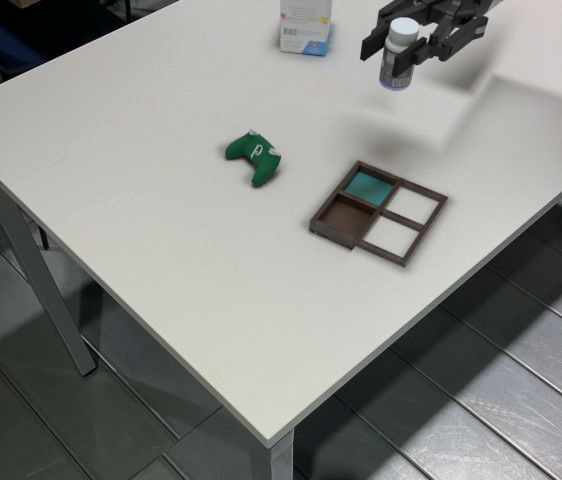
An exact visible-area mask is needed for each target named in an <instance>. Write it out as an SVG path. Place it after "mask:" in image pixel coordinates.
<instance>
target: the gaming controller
mask: <svg viewBox="0 0 562 480" xmlns="http://www.w3.org/2000/svg"><path fill="white" fill-rule="evenodd" d="M224 154H225V156H226V158H227V159H229V160H231V159H236V158H238V157H240V156H243V155H245V156H246V157H247V158H248V159H249V160H250V161H251V162H252V163H253V164H254V165H255V166H256V169H255V171H254V172H253V176H252V177H251V180H250V182H251V183H252V184H253V185H254V186H255V187H257V186H259V185H261V184H262V183H264V182H265V181H266V180H268V179H269V178H270V177H271V176H272V175H273V174H274V173H275V172H276V170H277V169H278V167H279V166H280V162H281V159H282V154H281V152H280V151H279V150H278V149H276V147H274V145H273V144H271V142H269V141H268V139H266V138H265V137H264V136H262V135H261V133H260V132H259V131H257V130H256V129H254V128H249V131H248V132H246V133H245V134H244V135H242V136H240V137H238V138H236V139H235V140H233V141H232V142H231V143H229V144H228V145H227V146H226V148H225V151H224Z"/></svg>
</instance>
